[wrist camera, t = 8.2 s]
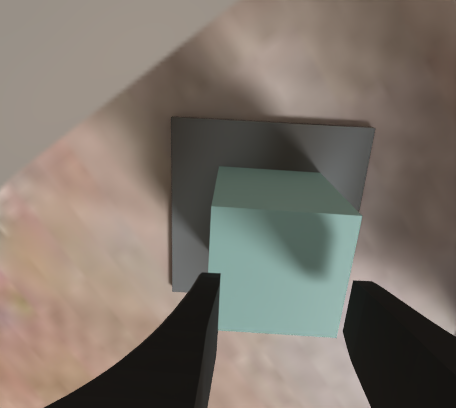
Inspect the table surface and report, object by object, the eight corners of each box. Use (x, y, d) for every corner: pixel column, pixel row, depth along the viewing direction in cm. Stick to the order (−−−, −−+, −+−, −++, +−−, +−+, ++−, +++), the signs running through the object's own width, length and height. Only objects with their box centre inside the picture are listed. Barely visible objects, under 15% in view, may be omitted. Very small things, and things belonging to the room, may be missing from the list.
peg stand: (372, 127, 17) (432, 145, 12) (339, 296, 20) (375, 368, 15) (172, 116, 17) (145, 130, 12) (173, 287, 20) (152, 356, 15)
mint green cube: (320, 172, 17) (362, 215, 11) (306, 262, 19) (336, 337, 13) (219, 166, 17) (211, 206, 11) (214, 256, 19) (205, 329, 13)
